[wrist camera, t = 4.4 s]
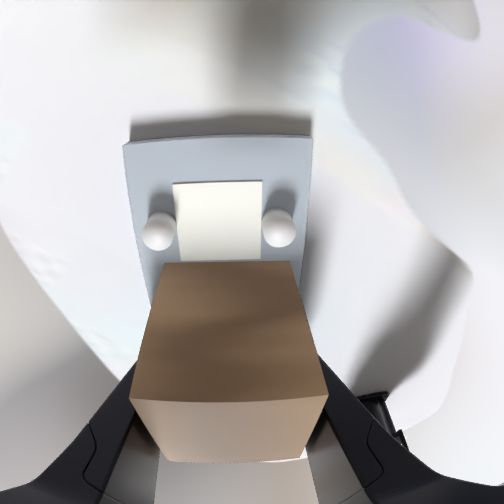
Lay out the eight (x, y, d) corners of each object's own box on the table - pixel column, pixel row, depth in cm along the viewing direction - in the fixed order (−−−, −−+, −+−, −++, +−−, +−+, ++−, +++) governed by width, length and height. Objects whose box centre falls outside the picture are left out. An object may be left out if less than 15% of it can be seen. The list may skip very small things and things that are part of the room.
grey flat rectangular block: (307, 135, 16) (320, 143, 14) (281, 392, 29) (284, 413, 27) (128, 141, 16) (112, 151, 13) (181, 394, 28) (179, 415, 26)
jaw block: (289, 260, 10) (328, 394, 5) (279, 344, 12) (299, 457, 7) (164, 262, 9) (129, 397, 5) (180, 345, 11) (168, 460, 7)
